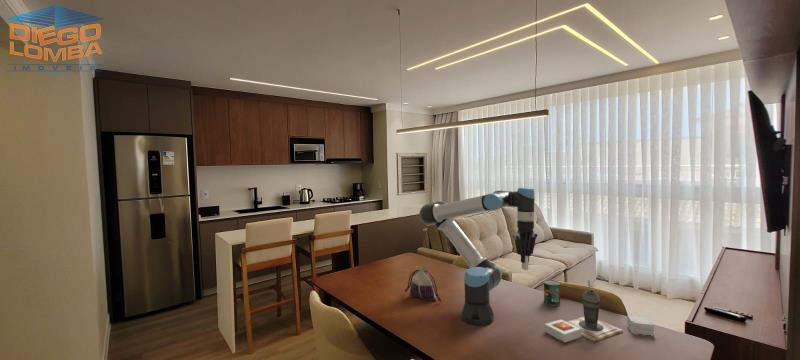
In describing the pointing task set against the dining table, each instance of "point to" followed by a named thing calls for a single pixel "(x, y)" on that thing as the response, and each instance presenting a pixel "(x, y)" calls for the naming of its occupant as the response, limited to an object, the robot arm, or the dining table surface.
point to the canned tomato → (552, 292)
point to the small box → (640, 325)
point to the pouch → (422, 285)
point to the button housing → (563, 335)
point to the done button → (563, 326)
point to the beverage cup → (591, 307)
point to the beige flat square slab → (595, 329)
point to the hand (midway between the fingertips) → (524, 268)
